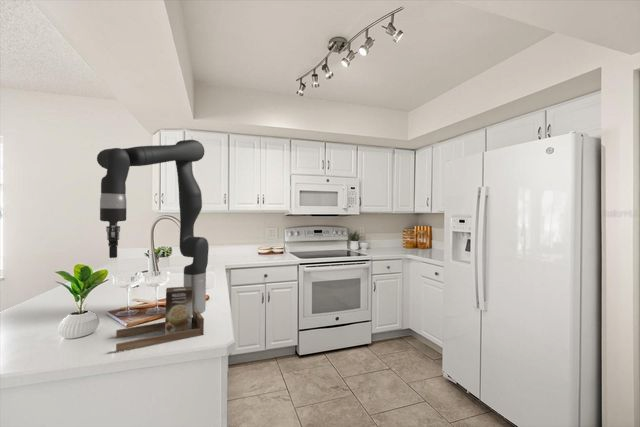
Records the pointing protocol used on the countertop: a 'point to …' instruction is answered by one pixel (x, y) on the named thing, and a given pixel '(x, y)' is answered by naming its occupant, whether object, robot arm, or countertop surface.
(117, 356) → the countertop surface
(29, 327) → the countertop surface
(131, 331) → the walnut chute
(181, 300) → the coffee box
